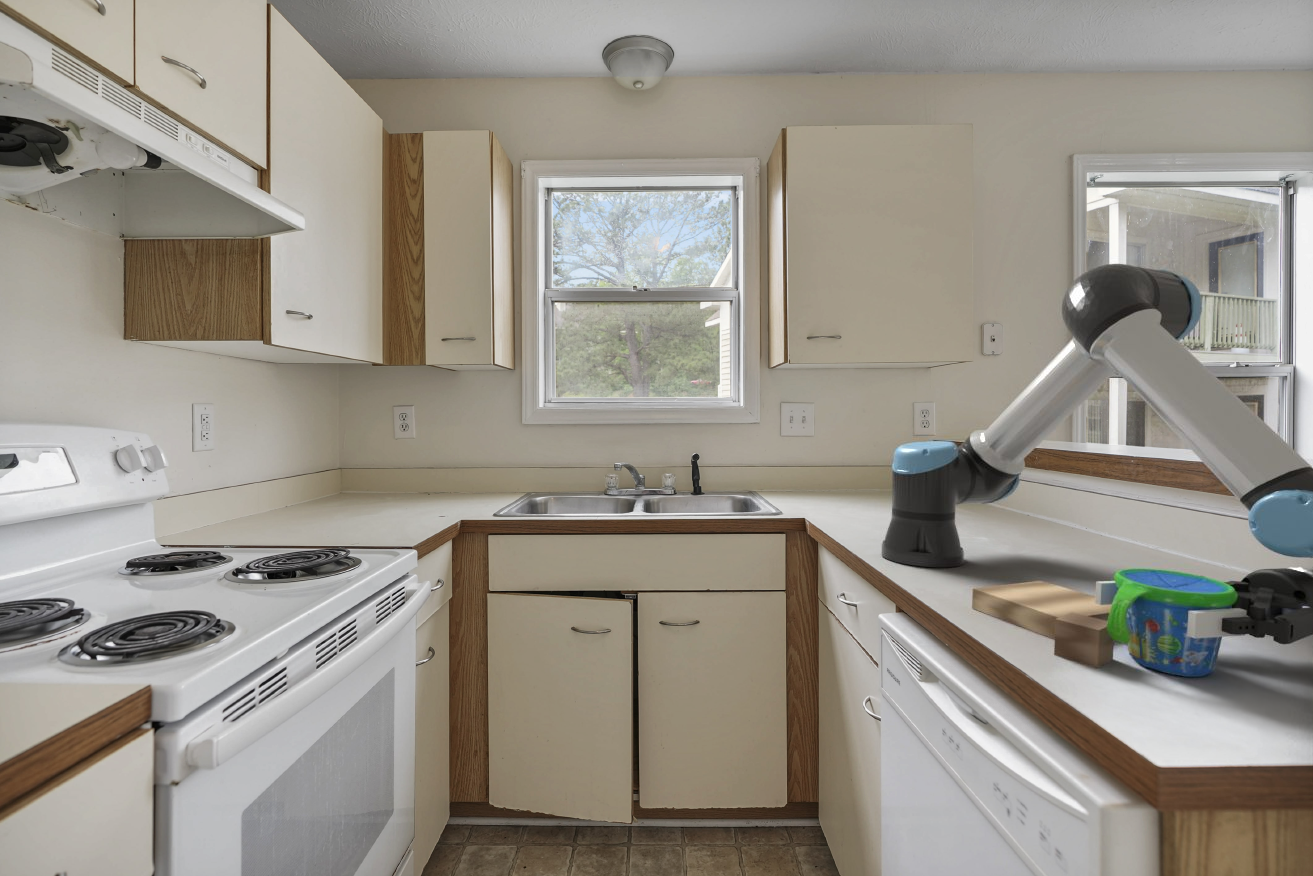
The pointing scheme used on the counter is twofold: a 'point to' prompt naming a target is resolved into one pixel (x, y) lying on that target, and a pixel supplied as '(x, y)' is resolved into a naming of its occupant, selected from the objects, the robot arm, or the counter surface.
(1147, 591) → the snack cup
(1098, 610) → the oak base slab
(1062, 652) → the walnut block
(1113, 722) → the counter surface
